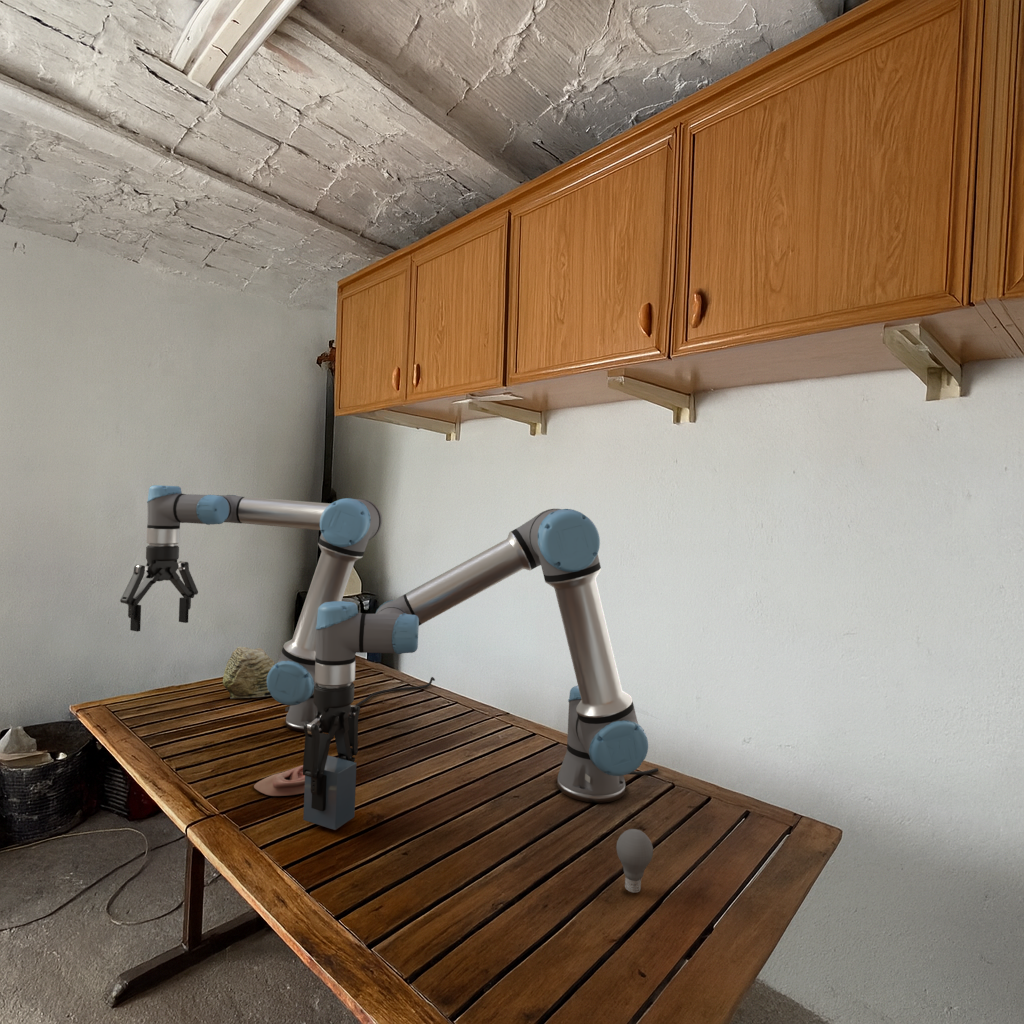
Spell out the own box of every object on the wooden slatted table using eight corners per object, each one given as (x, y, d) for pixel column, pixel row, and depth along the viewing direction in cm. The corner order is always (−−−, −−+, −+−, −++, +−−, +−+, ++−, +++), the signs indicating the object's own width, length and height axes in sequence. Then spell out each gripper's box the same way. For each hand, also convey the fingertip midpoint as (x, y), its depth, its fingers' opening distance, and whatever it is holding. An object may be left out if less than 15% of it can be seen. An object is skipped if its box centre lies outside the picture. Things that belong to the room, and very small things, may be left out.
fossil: (218, 695, 195) (220, 647, 195) (278, 685, 208) (279, 640, 207) (228, 703, 189) (230, 653, 188) (289, 692, 201) (290, 645, 201)
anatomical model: (246, 773, 134) (276, 753, 145) (245, 792, 134) (276, 770, 145) (303, 782, 131) (330, 760, 142) (302, 801, 131) (329, 777, 142)
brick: (323, 807, 127) (325, 754, 126) (354, 817, 123) (356, 762, 123) (303, 820, 122) (305, 764, 121) (335, 830, 118) (337, 773, 118)
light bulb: (610, 879, 108) (613, 822, 108) (644, 879, 109) (647, 822, 109) (619, 902, 102) (622, 840, 102) (655, 901, 103) (658, 840, 103)
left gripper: (194, 541, 177) (192, 617, 178) (105, 546, 154) (102, 632, 155) (213, 543, 174) (211, 620, 174) (125, 548, 151) (123, 636, 152)
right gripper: (350, 668, 132) (345, 779, 132) (283, 692, 115) (278, 818, 115) (379, 674, 129) (375, 787, 129) (315, 699, 112) (310, 828, 112)
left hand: (160, 626), depth 165 cm, fingers open, 13 cm apart
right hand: (329, 801), depth 122 cm, fingers closed on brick, 6 cm apart
